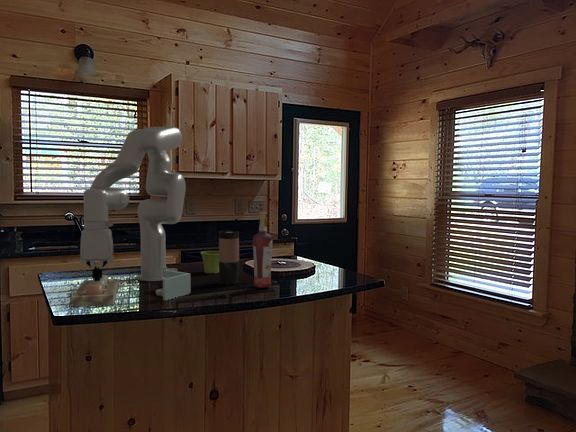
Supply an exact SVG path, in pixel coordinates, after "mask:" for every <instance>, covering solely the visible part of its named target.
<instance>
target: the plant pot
mask: <svg viewBox="0 0 576 432" xmlns="http://www.w3.org/2000/svg"><path fill="white" fill-rule="evenodd" d="M200 254H201V257H202V263H203V269H204V270H203V272H204V273H205V274H212V273H214V274H219V250H206V251H205V250H203V251H200Z"/></svg>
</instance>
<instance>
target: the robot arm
mask: <svg viewBox="0 0 576 432" xmlns="http://www.w3.org/2000/svg"><path fill="white" fill-rule="evenodd" d="M182 142H183V135H182V132H181V130H180V129H179V128H178V127H176V126H149V127H144V128H143V129H134V130H131V131H130V132H129V133H128V134H127V136H126V138H125V140H124V142H123V144H122V146H121V147H120V150H119V152H118V154H117V157H116V159H114V161H113V162H111V163H110V164H109V165H107V166H106V167H105V168H104V169H102V170H101V171H99V173H98V174H97V175H96V176H95V178H94V179H93V181H92V184H91V185H90V187H89V189H85V190H84V192H83V226H84V227H83V228H84V229H83V230H82V231H81V234H80V235H81V236H80V247H79V249H80V250H79V251H80V253H79V254H80V260H79V263H80V264H83V265H87V267H90V269H91V273H92V274H91V275H92V277H91V278H92V279H93V278H94V281H100V279H101V278H102V275H103V268H104V267H105V266H107V264H111V263H114V262H115V258H114V242H113V240H114V239H113V235H112V234H113V233H112V230H111V229H110V227H113V226H114V222H111V221H109V210H112V211H113V210H114V211H118V210H119V211H121V210H124V209H125V208H126V207H127V206H128V205H129V203H130V196H129V193H128V192H127V191H126V190H125V189H122V188H119V187H112V186H113V185H114V184H116V183H117V182H119V181H121V180H123V179H127V178H128V177H130V176H133V175H135V174H136V173H137V172H138V171H139V170H140V167H141V165H142V162H143V160H144V158H145V156H146V155H147V158H148V168H147V175H146V181H145V191H146V193H147V194H148V195H150V196H152V197H167V199H166V198H165V199H163V198H162V199H161V198H147V199H144V200H142V201H141V202H139V204H138V205H137V218H138V222H139V228H140V231H139V232H140V274H137V276H136V279H137V280H139V281H141V282H161V281H163V279H164V270H170V271H177V272H178V268H174V267H173V268H169V267H168V266H167V265H166V263H167V261H166V258H167V257H166V256H167V255H166V254H167V253H166V247H167V246H166V243H167V242H166V239H167V238H166V231H165V229H164V227H163V224H164V225H174V224H177V223H179V222H180V220H181V219H182V216H183V210H184V205H185V204H184V203H185V196H186V189H187V188H186V187H187V185H186V181H185V180H186V179H185V178H184V176H183V175H182V174H181V173H179V172H171V165H172V161H171V159H170V156H169V154H168V153H167V152H168V151H171V150H174V149H177V148H179V147H180V145H181V144H182ZM96 261H99V262H98V267H97V265H96Z"/></svg>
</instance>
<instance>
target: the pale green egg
mask: <svg viewBox="0 0 576 432" xmlns="http://www.w3.org/2000/svg"><path fill="white" fill-rule="evenodd" d="M89 280H90V284H102V287H103V289H105V280H104V279H100V281H94V279H93V278H92V279H89Z"/></svg>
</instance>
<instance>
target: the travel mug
mask: <svg viewBox="0 0 576 432" xmlns="http://www.w3.org/2000/svg"><path fill="white" fill-rule="evenodd" d="M239 236H240V232H239V230H228V229H226V230H219V232H218V251H219V272H218V275H219V281H218V282H219V284H220V285H221V284H225V285H224V286H230V285H229V284H235V285H237V284H236V283H238V284H239V276H240V275H239V270H240V269H239V268H240V266H239V265H240V237H239Z"/></svg>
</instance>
